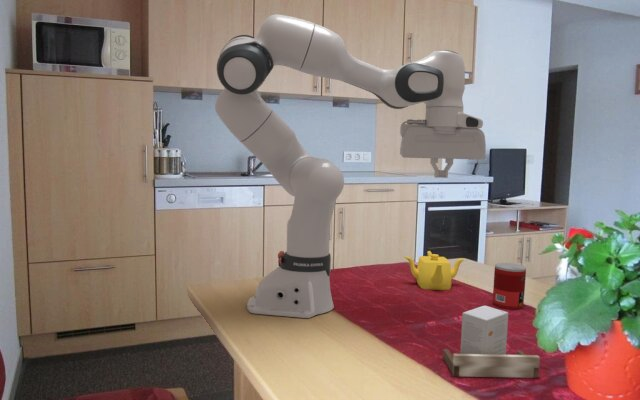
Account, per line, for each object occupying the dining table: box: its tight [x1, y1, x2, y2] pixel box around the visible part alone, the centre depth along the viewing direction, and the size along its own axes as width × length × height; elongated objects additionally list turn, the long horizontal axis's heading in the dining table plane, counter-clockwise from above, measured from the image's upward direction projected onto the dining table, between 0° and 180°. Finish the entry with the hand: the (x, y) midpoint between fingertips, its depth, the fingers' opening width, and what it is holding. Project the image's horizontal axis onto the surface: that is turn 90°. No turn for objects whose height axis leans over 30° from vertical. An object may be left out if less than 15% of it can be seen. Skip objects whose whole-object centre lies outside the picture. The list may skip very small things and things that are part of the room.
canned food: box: [492, 262, 527, 310], centre depth 141 cm, size 8×8×11 cm
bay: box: [442, 348, 541, 379], centre depth 101 cm, size 16×8×4 cm, turn 91°
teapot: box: [403, 250, 467, 291], centre depth 160 cm, size 15×14×10 cm
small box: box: [459, 305, 509, 355], centre depth 103 cm, size 8×6×10 cm
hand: (440, 177), depth 127 cm, fingers closed
